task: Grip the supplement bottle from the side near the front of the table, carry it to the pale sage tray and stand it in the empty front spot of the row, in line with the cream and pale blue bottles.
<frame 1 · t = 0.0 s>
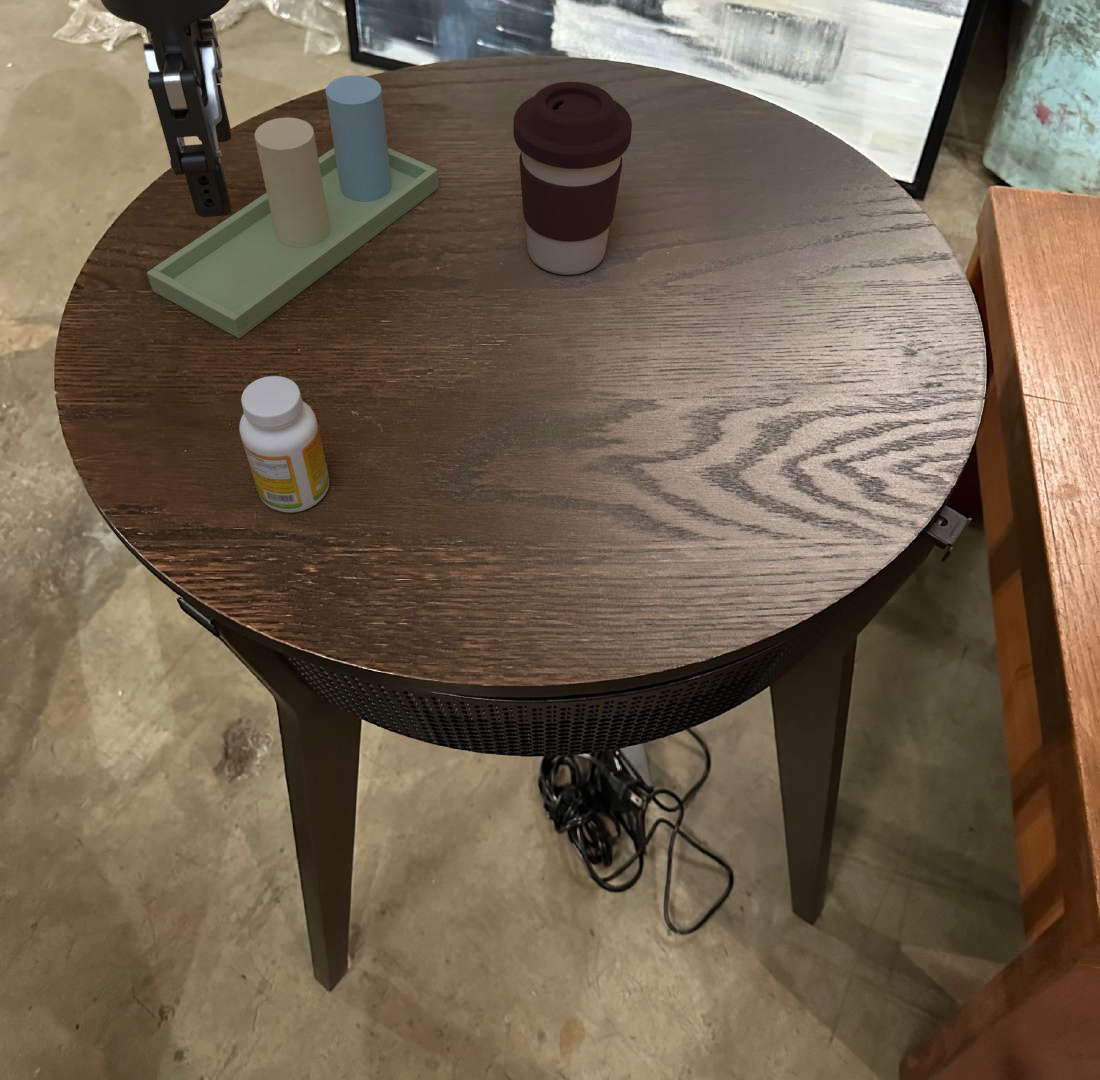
hand: (215, 175, 69), 20 cm above the table, tool pointing down, fingers open, 8 cm apart
cream bottle: (303, 231, 96), point 1 cm above the table, touching tray
supplement bottle: (294, 489, 78), on the table
tray: (304, 236, 97), on the table
pale blue bottle: (366, 186, 101), point 1 cm above the table, touching tray
coffee cup: (566, 254, 97), on the table
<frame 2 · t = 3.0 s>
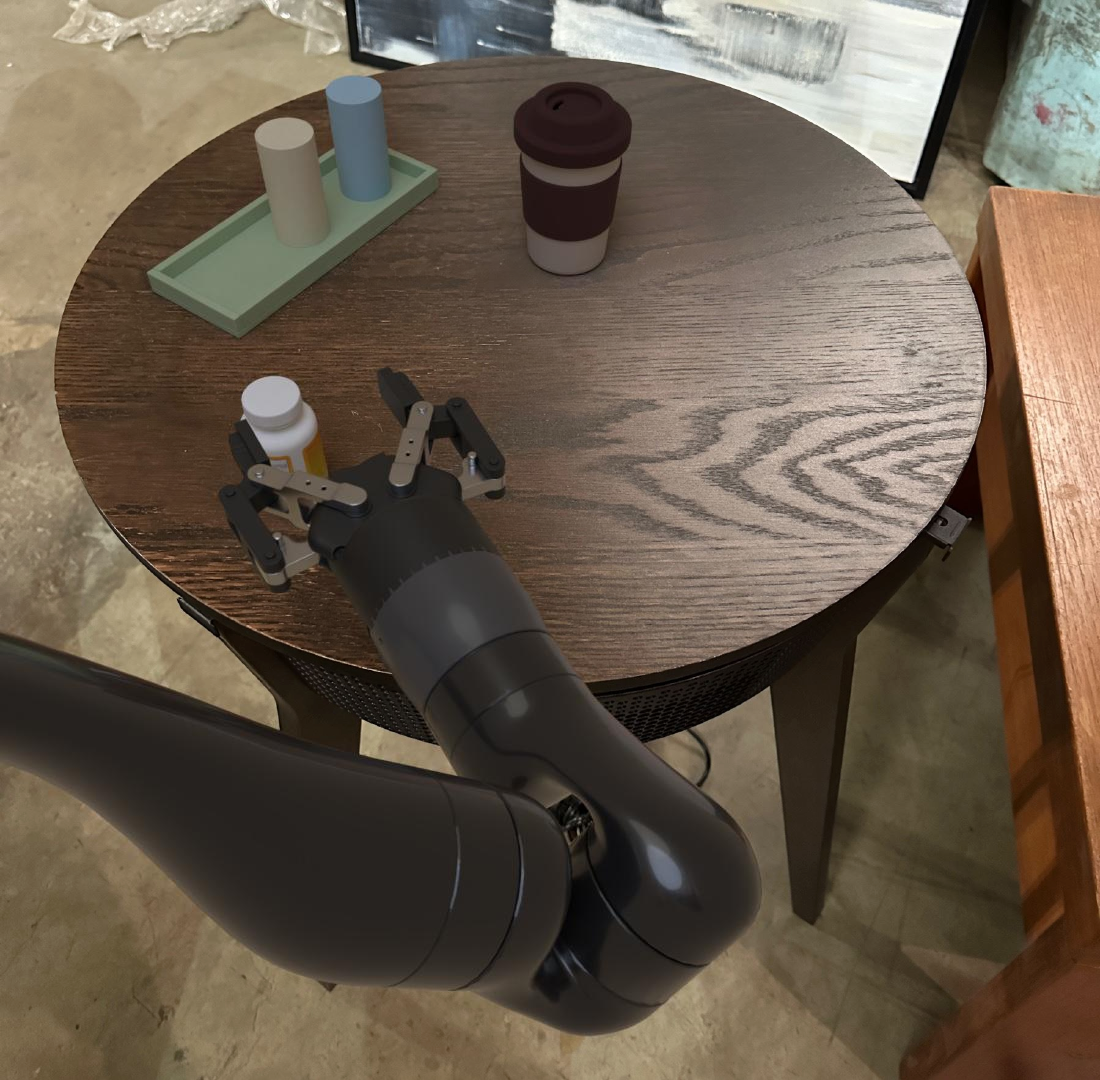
hand: (314, 404, 58), 18 cm above the table, tool horizontal, fingers open, 8 cm apart
nothing on the table moved.
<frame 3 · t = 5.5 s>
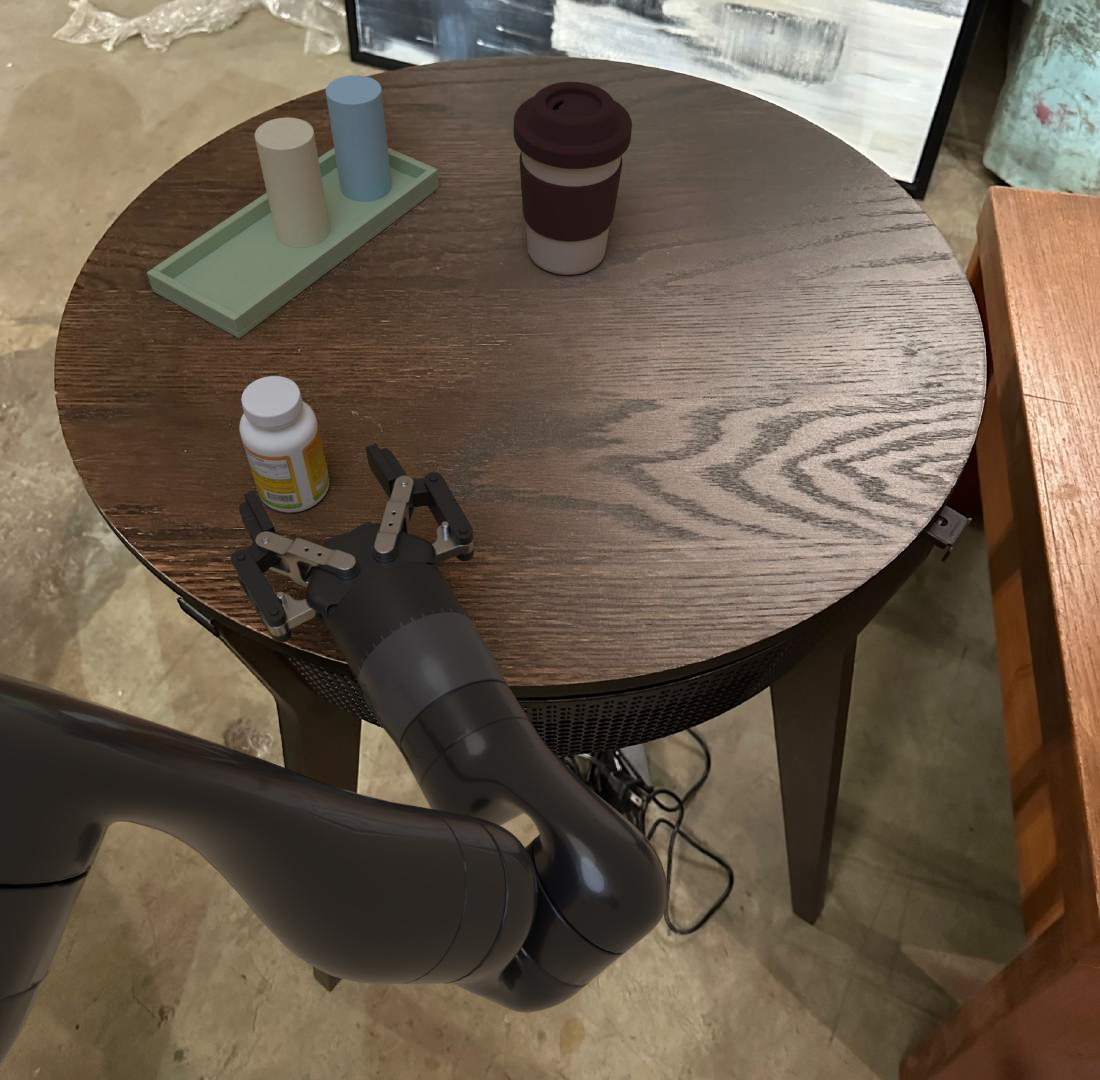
hand: (312, 476, 68), 8 cm above the table, tool horizontal, fingers open, 8 cm apart
nothing on the table moved.
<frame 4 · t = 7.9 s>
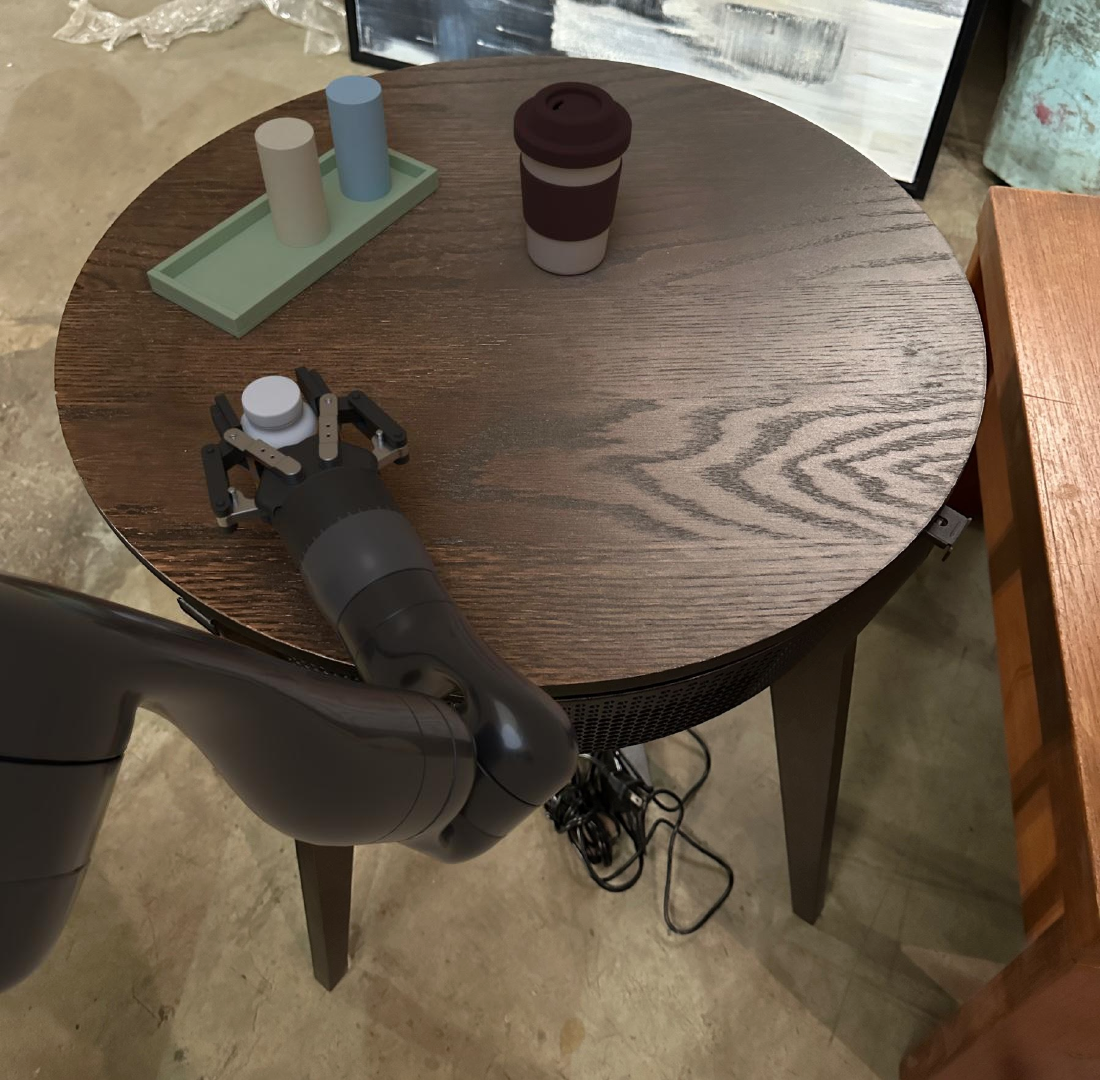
hand: (261, 390, 73), 8 cm above the table, tool horizontal, fingers closed on supplement bottle, 5 cm apart
supplement bottle: (294, 489, 78), on the table, touching gripper
everything else where it was.
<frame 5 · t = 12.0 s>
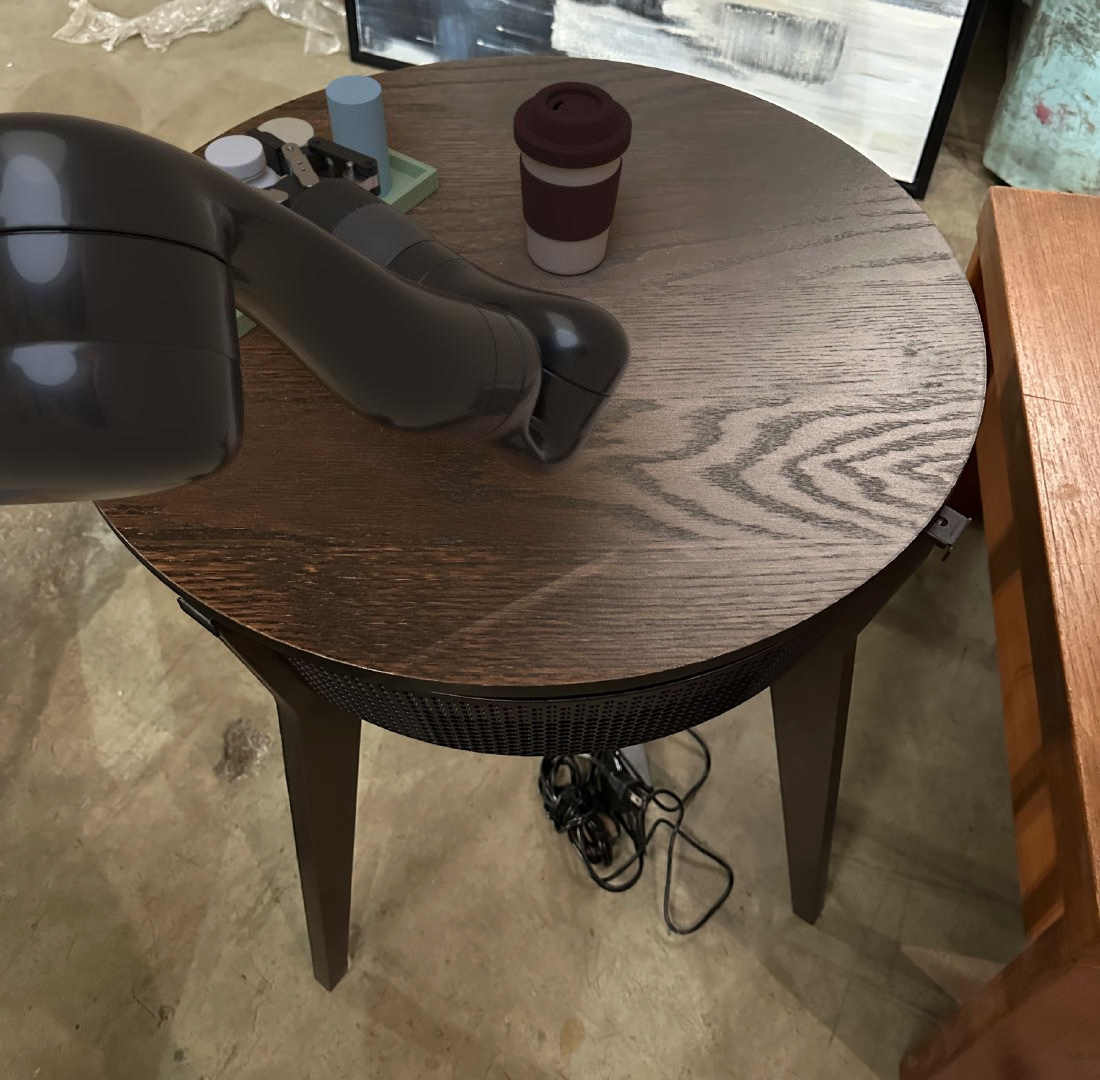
hand: (217, 157, 74), 17 cm above the table, tool horizontal, fingers closed on supplement bottle, 5 cm apart
supplement bottle: (262, 267, 79), point 9 cm above the table, touching gripper
everything else where it was.
when the fingers open (9 cm above the table, at t = 16.3 s): supplement bottle stays where it is, resting on tray.
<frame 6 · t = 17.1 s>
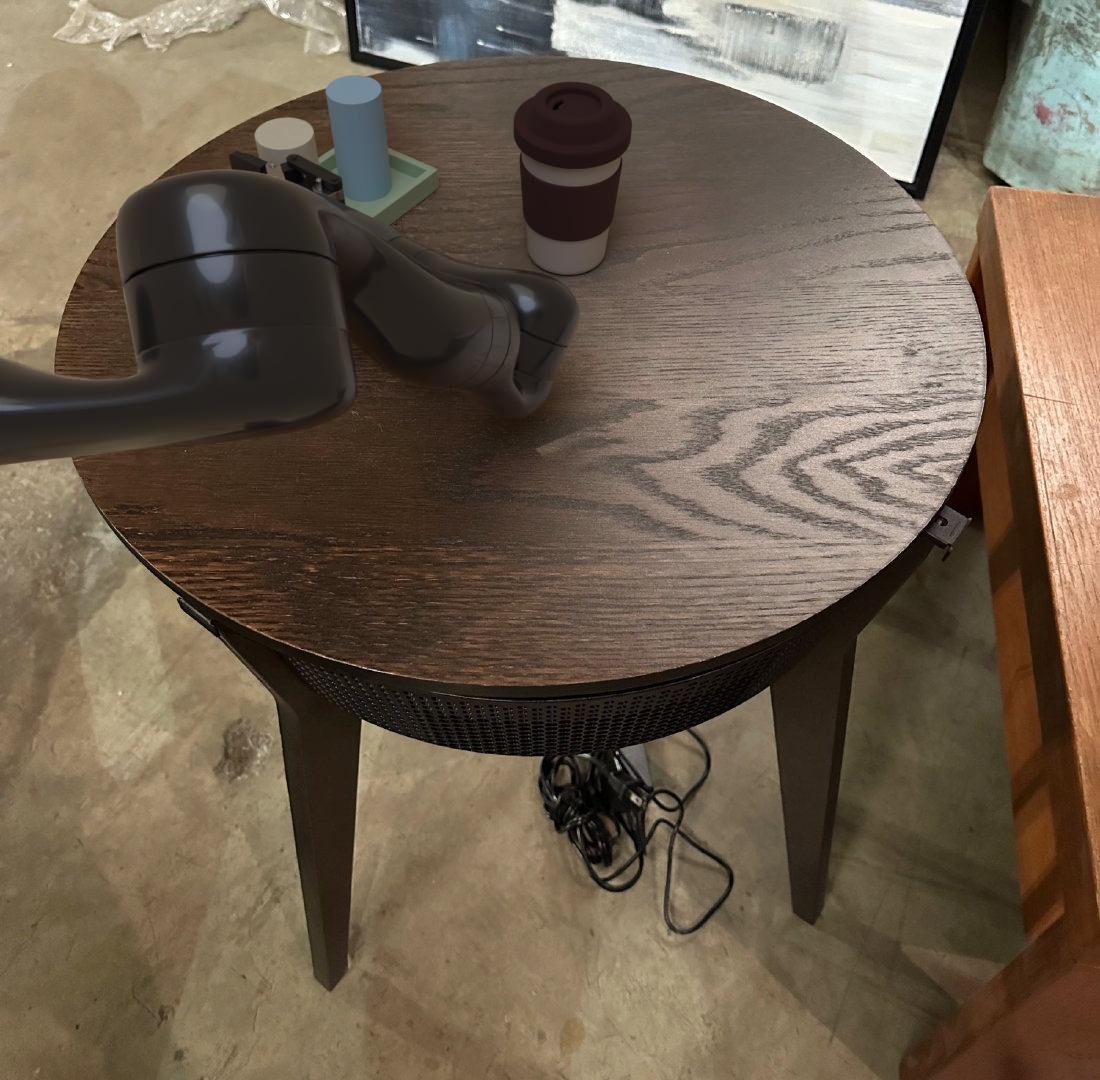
hand: (195, 185, 85), 10 cm above the table, tool horizontal, fingers open, 8 cm apart
supplement bottle: (235, 283, 92), resting on tray
everything else where it was.
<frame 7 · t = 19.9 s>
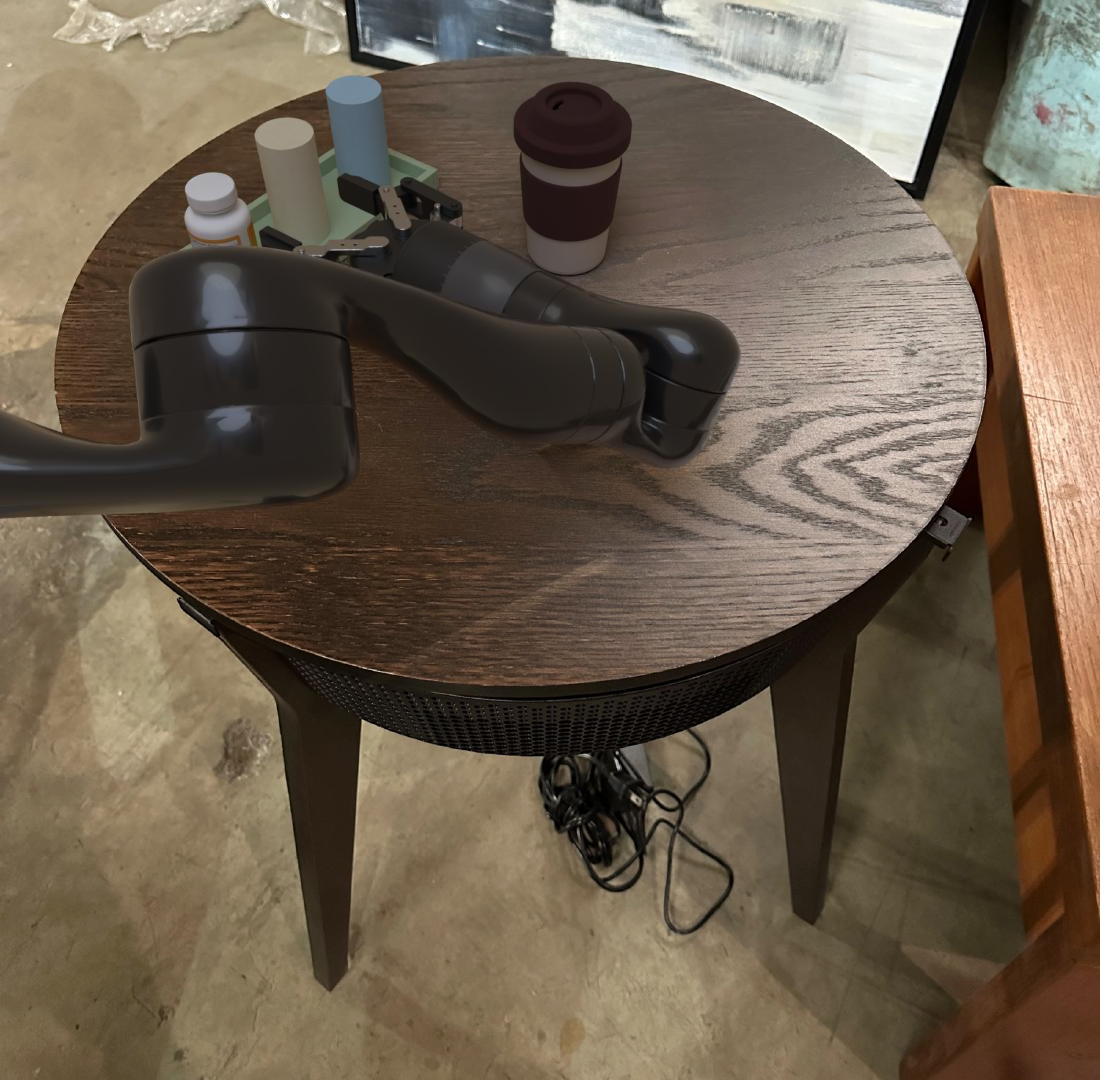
hand: (303, 211, 79), 12 cm above the table, tool horizontal, fingers open, 8 cm apart
nothing on the table moved.
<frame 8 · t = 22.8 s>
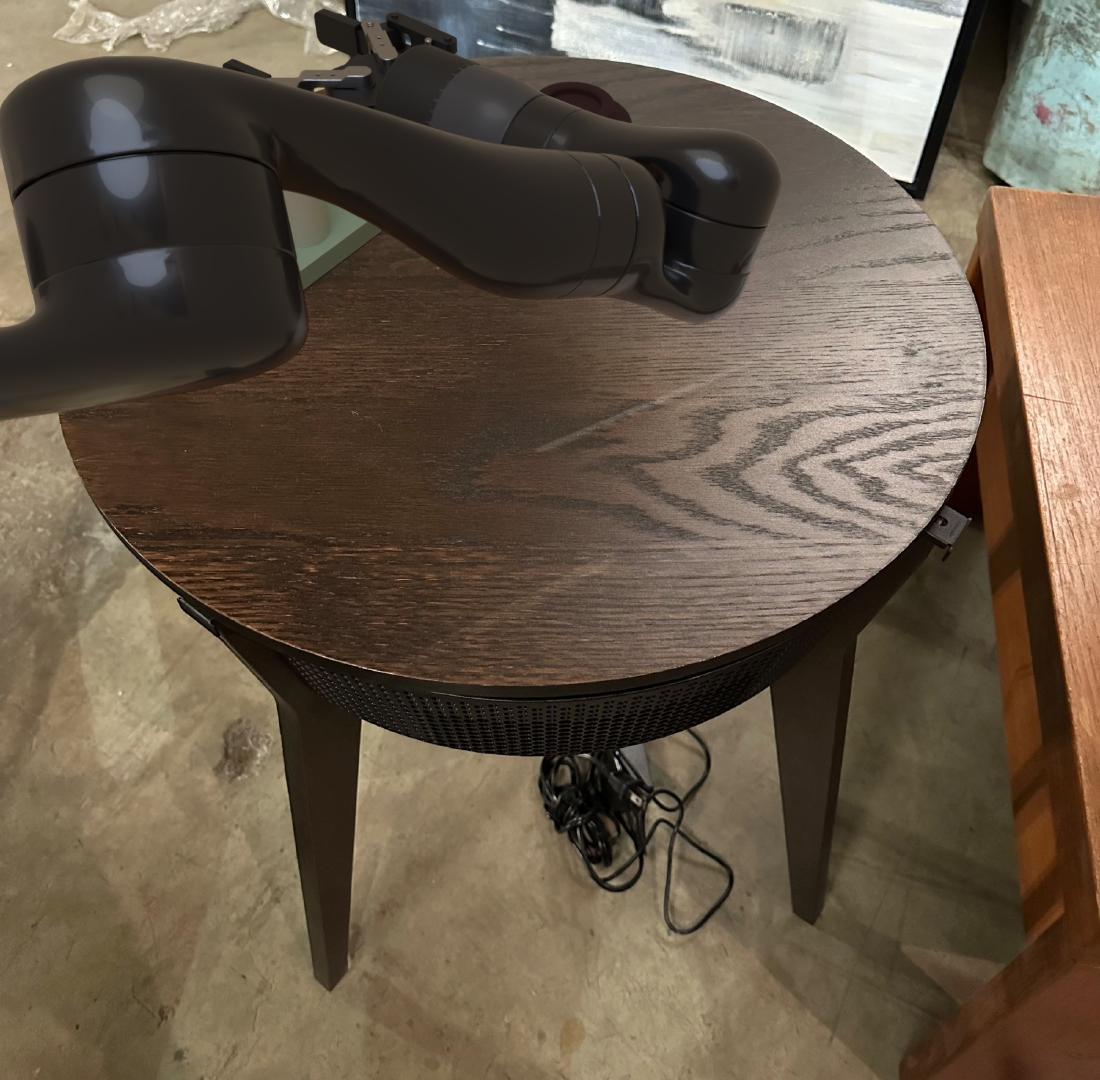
hand: (274, 49, 69), 25 cm above the table, tool horizontal, fingers open, 8 cm apart
nothing on the table moved.
at the end: supplement bottle 0.2 cm from the target spot in the tray, point 0.4 cm above the tray's base; supplement bottle tilted 0°; the gripper is holding nothing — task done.
